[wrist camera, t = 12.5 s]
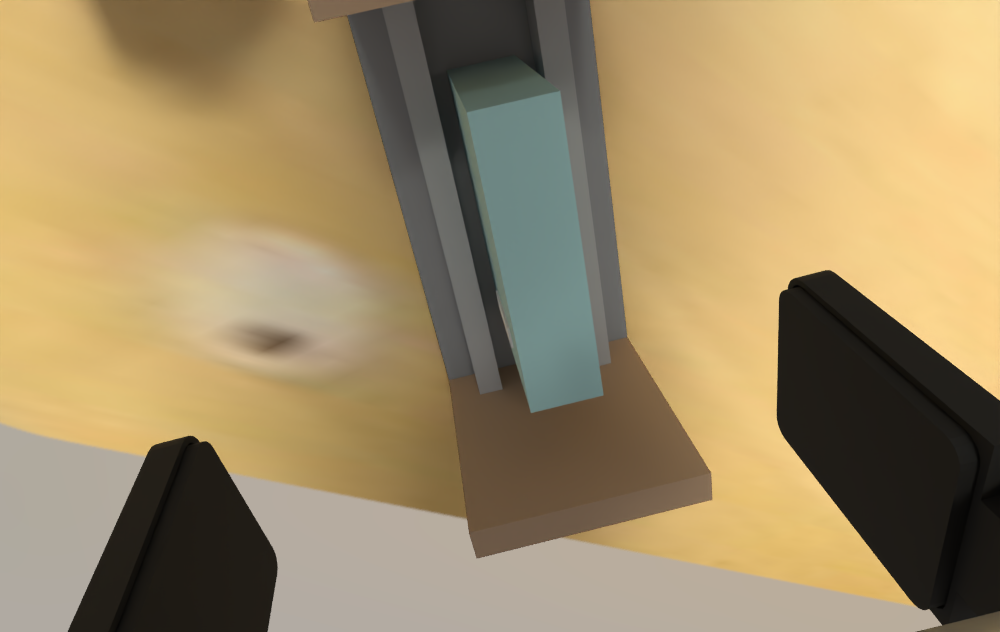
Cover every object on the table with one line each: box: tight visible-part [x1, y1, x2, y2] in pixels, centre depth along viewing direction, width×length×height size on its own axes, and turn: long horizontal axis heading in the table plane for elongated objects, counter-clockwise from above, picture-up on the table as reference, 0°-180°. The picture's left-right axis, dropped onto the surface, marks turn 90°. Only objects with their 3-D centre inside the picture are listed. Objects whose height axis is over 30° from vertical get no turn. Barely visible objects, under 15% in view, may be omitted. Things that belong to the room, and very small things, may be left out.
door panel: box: [447, 55, 603, 413], centre depth 28 cm, size 12×3×9 cm, turn 11°
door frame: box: [307, 0, 712, 558], centre depth 27 cm, size 22×10×12 cm, turn 11°
